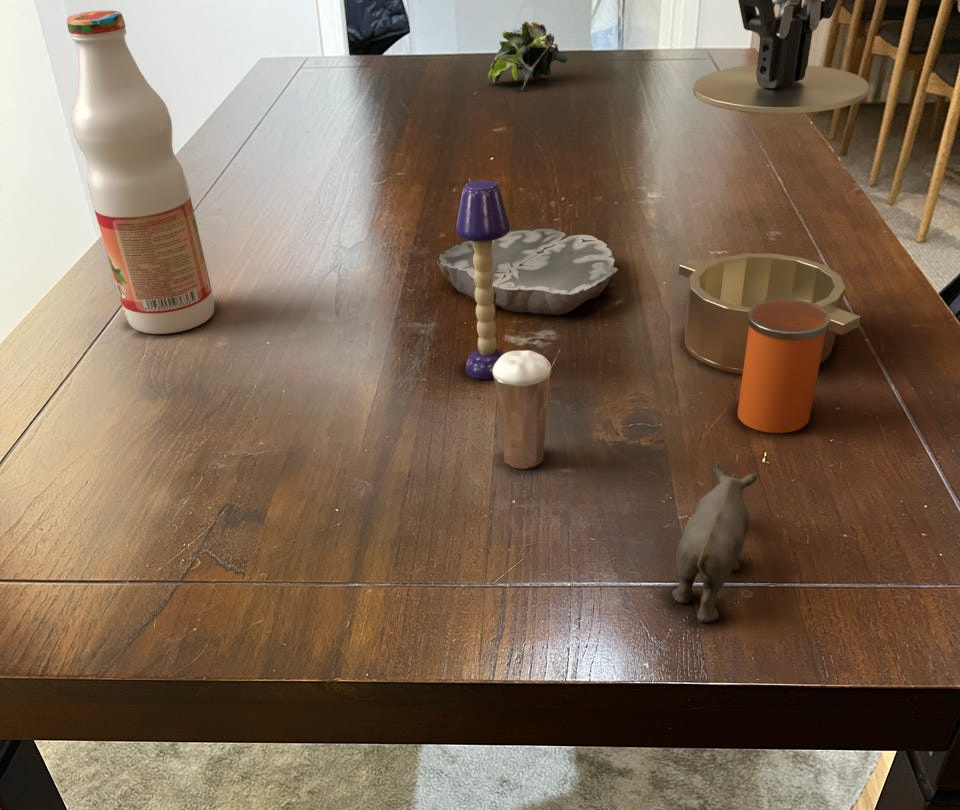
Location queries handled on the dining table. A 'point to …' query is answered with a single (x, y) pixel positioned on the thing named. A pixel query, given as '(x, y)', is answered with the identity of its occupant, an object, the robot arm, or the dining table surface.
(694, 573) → the rhino figurine
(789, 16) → the robot arm
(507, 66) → the green leafy plant
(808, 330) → the small canister
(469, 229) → the toy lamp
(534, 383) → the milkshake
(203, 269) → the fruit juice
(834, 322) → the pot
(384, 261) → the dining table surface
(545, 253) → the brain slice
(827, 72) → the lid
